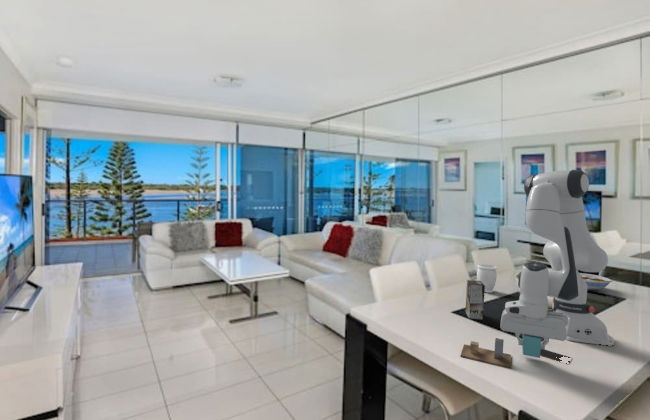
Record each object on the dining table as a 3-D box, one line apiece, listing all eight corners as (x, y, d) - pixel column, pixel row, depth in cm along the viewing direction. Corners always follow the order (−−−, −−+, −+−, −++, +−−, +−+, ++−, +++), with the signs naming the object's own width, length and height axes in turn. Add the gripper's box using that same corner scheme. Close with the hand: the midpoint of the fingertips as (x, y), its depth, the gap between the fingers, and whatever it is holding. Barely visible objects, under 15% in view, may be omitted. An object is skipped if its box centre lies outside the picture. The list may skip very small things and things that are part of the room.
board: (511, 356, 127) (511, 345, 126) (510, 368, 118) (511, 357, 118) (464, 345, 134) (464, 335, 134) (460, 356, 126) (461, 345, 125)
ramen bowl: (609, 288, 222) (610, 275, 221) (615, 297, 203) (616, 283, 202) (562, 281, 235) (563, 269, 235) (563, 289, 216) (564, 276, 215)
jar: (472, 288, 212) (473, 264, 210) (486, 287, 215) (487, 263, 214) (485, 294, 201) (486, 268, 200) (499, 293, 205) (501, 267, 203)
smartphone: (568, 364, 122) (524, 350, 131) (568, 366, 122) (524, 351, 131) (572, 357, 127) (529, 344, 136) (572, 359, 127) (529, 346, 136)
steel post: (502, 358, 125) (503, 339, 124) (502, 361, 123) (503, 342, 122) (494, 356, 126) (495, 337, 126) (494, 359, 124) (495, 340, 123)
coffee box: (483, 319, 162) (485, 285, 161) (468, 318, 163) (470, 284, 162) (478, 312, 171) (480, 280, 170) (464, 311, 172) (466, 279, 171)
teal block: (538, 351, 126) (539, 333, 125) (540, 358, 121) (541, 339, 121) (522, 348, 128) (523, 330, 128) (522, 354, 124) (523, 336, 123)
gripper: (567, 311, 122) (564, 349, 123) (501, 301, 131) (499, 337, 132) (570, 317, 116) (567, 357, 117) (501, 307, 125) (499, 344, 126)
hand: (531, 346), depth 125 cm, fingers closed on teal block, 5 cm apart
